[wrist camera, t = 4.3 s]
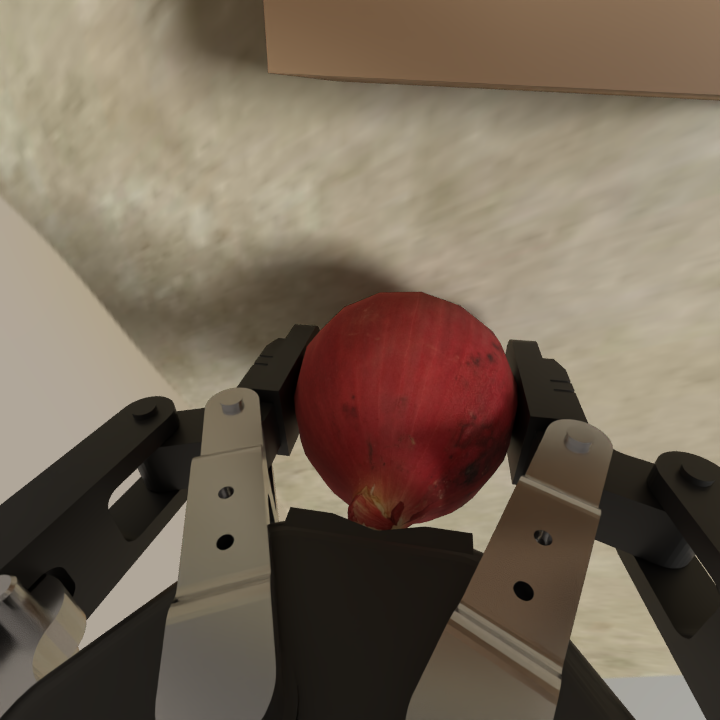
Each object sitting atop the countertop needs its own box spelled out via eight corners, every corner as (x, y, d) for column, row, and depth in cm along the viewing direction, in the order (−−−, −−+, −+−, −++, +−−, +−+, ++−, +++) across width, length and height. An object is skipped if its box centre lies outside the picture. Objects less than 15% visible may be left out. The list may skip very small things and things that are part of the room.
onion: (510, 251, 12) (585, 439, 6) (491, 403, 15) (523, 640, 9) (322, 254, 13) (197, 413, 7) (340, 394, 16) (266, 599, 10)
